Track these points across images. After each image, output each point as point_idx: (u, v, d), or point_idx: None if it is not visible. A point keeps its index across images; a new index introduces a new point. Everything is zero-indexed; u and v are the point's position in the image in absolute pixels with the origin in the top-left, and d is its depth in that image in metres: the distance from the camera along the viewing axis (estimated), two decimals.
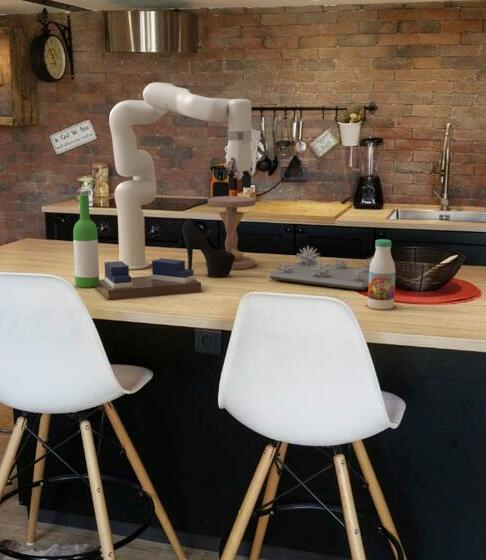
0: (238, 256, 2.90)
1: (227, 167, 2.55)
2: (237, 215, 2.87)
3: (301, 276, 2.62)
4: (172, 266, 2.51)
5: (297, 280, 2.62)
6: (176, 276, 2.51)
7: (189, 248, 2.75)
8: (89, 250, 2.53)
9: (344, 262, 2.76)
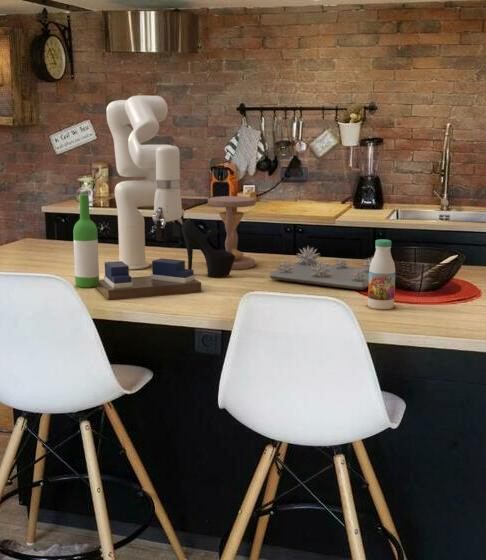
0: (238, 256, 2.90)
1: (153, 217, 2.44)
2: (237, 215, 2.87)
3: (301, 276, 2.62)
4: (172, 266, 2.51)
5: (297, 280, 2.62)
6: (176, 276, 2.51)
7: (189, 248, 2.75)
8: (89, 250, 2.53)
9: (344, 262, 2.76)
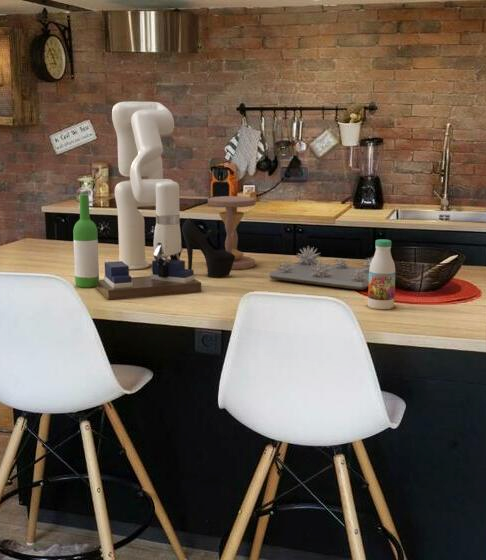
0: (238, 256, 2.90)
1: (155, 257, 2.48)
2: (237, 215, 2.87)
3: (301, 276, 2.62)
4: (172, 266, 2.51)
5: (297, 280, 2.63)
6: (176, 276, 2.51)
7: (189, 248, 2.75)
8: (89, 250, 2.53)
9: (344, 262, 2.76)
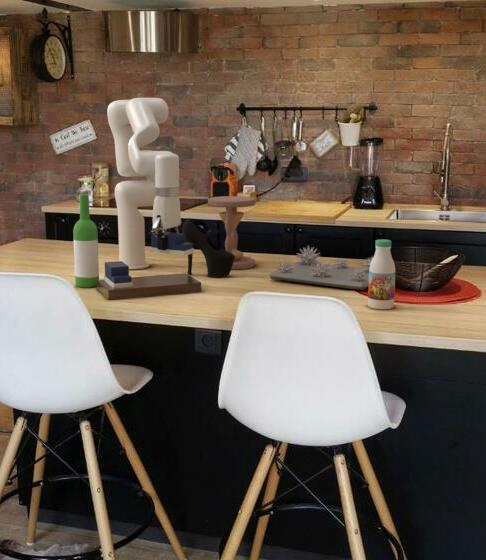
0: (238, 256, 2.90)
1: (154, 229, 2.46)
2: (237, 215, 2.87)
3: (301, 276, 2.62)
4: (171, 239, 2.50)
5: (297, 280, 2.63)
6: (175, 249, 2.50)
7: None
8: (89, 250, 2.53)
9: (344, 262, 2.76)
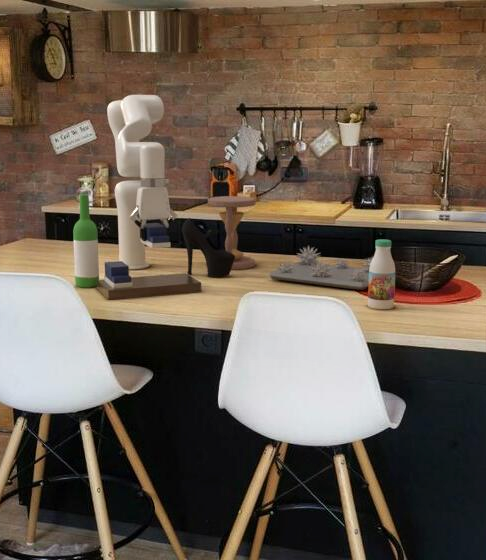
0: (238, 256, 2.90)
1: (130, 219, 2.48)
2: (237, 215, 2.87)
3: (301, 276, 2.62)
4: (148, 230, 2.47)
5: (297, 280, 2.63)
6: (149, 241, 2.46)
7: (189, 248, 2.75)
8: (89, 250, 2.53)
9: (344, 262, 2.76)
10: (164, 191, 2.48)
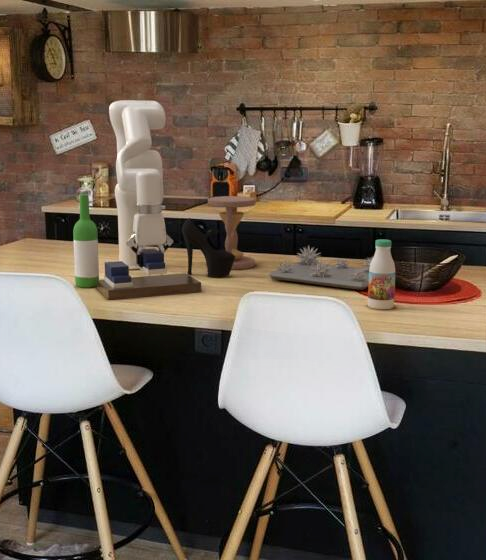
0: (238, 256, 2.90)
1: (127, 245, 2.49)
2: (237, 215, 2.87)
3: (301, 276, 2.62)
4: (144, 256, 2.48)
5: (297, 280, 2.63)
6: (145, 267, 2.48)
7: (189, 248, 2.75)
8: (89, 250, 2.53)
9: (344, 262, 2.76)
10: (160, 217, 2.49)
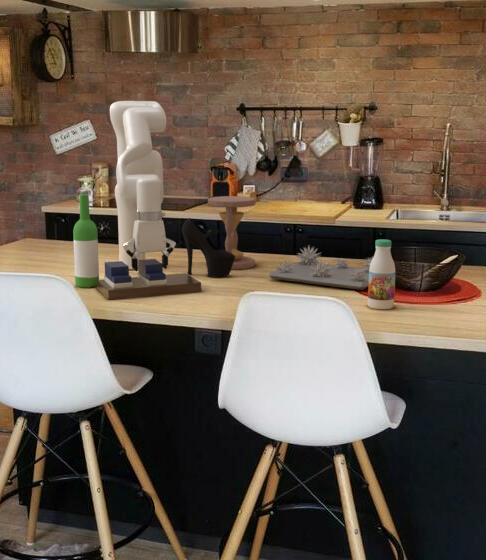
0: (238, 256, 2.90)
1: (123, 247, 2.49)
2: (237, 215, 2.87)
3: (301, 276, 2.62)
4: (144, 267, 2.49)
5: (297, 280, 2.63)
6: (146, 278, 2.48)
7: (189, 248, 2.75)
8: (89, 250, 2.53)
9: None
10: (160, 224, 2.50)
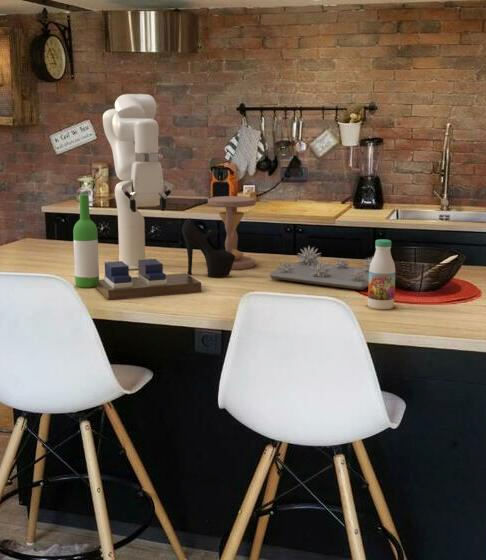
0: (238, 256, 2.90)
1: (121, 188, 2.53)
2: (237, 215, 2.87)
3: (301, 276, 2.63)
4: (144, 267, 2.49)
5: (297, 280, 2.63)
6: (146, 278, 2.48)
7: (189, 248, 2.75)
8: (89, 250, 2.53)
9: None
10: (158, 166, 2.54)
